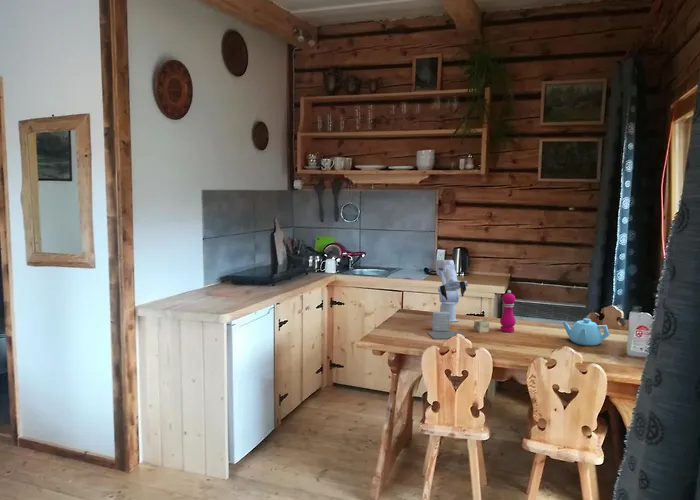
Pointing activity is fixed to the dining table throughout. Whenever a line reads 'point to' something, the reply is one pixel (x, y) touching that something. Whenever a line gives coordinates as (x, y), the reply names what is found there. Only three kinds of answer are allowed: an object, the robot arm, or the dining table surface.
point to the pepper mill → (508, 313)
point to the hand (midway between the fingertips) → (454, 296)
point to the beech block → (481, 326)
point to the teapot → (586, 332)
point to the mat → (443, 334)
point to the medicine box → (440, 321)
